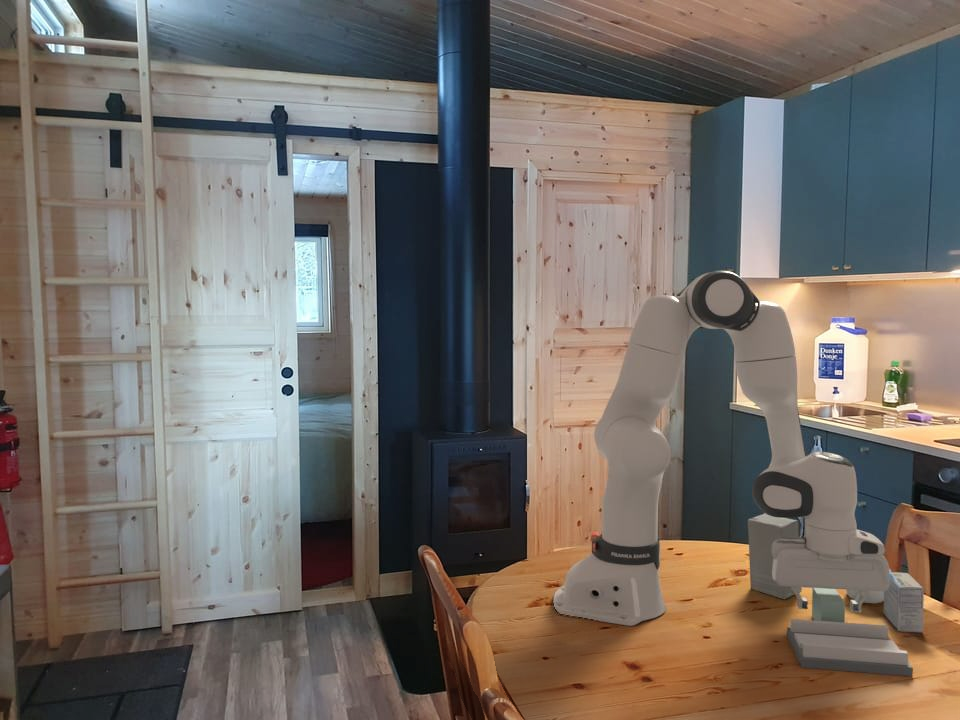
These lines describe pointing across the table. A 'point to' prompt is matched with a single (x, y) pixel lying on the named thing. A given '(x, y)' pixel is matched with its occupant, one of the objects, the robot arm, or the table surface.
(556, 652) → the table surface
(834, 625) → the rail board
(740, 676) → the table surface
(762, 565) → the skincare box
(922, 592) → the medicine box
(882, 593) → the candle
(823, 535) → the robot arm
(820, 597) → the rail module
